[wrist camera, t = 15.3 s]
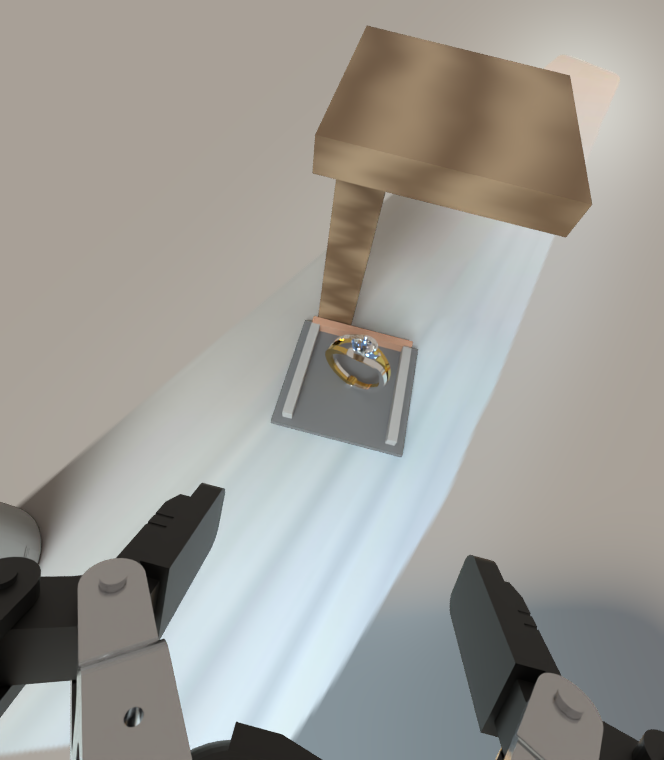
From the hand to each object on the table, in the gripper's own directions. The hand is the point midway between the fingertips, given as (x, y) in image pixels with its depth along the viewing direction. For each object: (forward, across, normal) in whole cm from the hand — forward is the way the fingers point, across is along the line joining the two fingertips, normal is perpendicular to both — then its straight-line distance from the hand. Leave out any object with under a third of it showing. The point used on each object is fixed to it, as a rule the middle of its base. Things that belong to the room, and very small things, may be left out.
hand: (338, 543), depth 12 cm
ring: (+31, 0, +3) cm, 31 cm away
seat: (+31, 0, +4) cm, 31 cm away
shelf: (+35, -2, 0) cm, 35 cm away
